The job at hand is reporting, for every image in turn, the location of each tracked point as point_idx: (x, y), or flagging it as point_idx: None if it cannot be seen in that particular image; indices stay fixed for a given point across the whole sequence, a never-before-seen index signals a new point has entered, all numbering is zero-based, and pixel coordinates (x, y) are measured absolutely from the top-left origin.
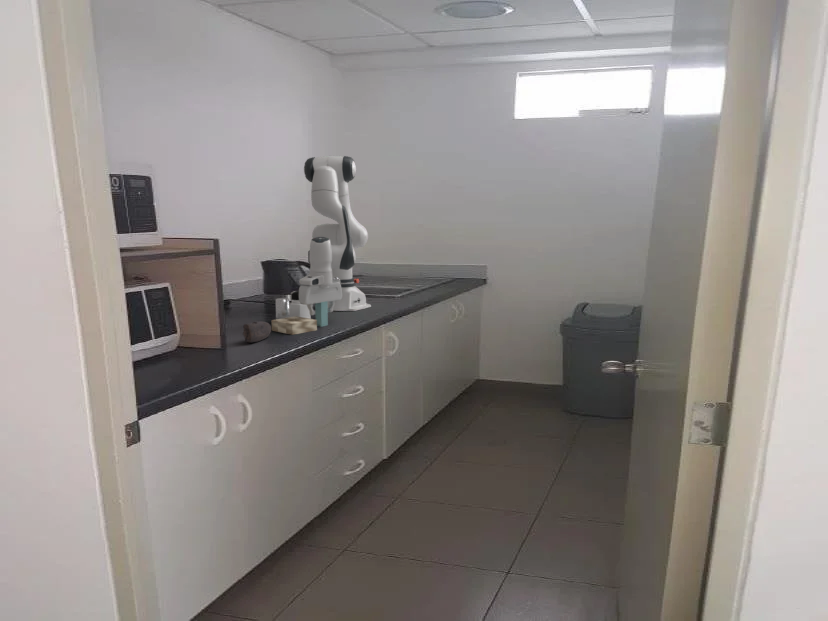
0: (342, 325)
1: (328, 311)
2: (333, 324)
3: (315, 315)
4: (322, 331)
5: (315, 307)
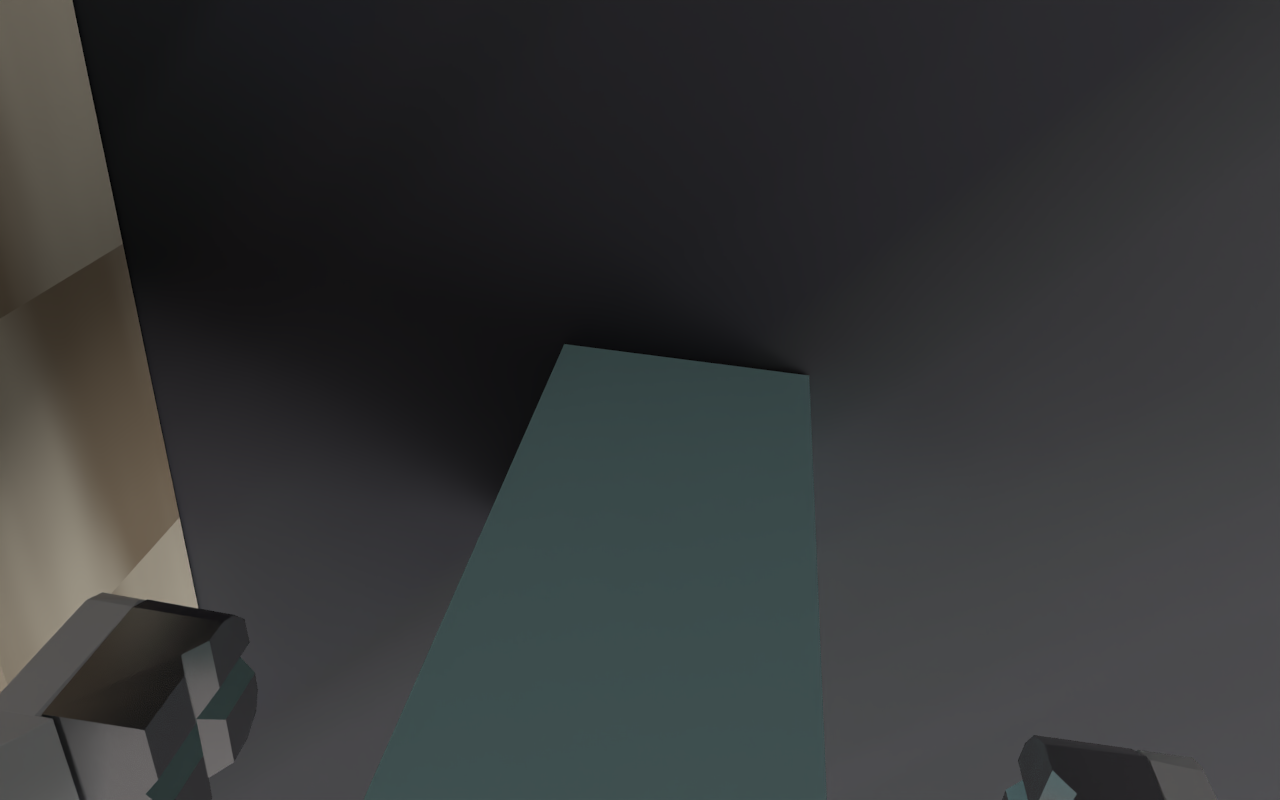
0: (955, 792)
1: (1024, 789)
2: (961, 603)
3: (489, 517)
4: (227, 787)
5: (373, 784)
